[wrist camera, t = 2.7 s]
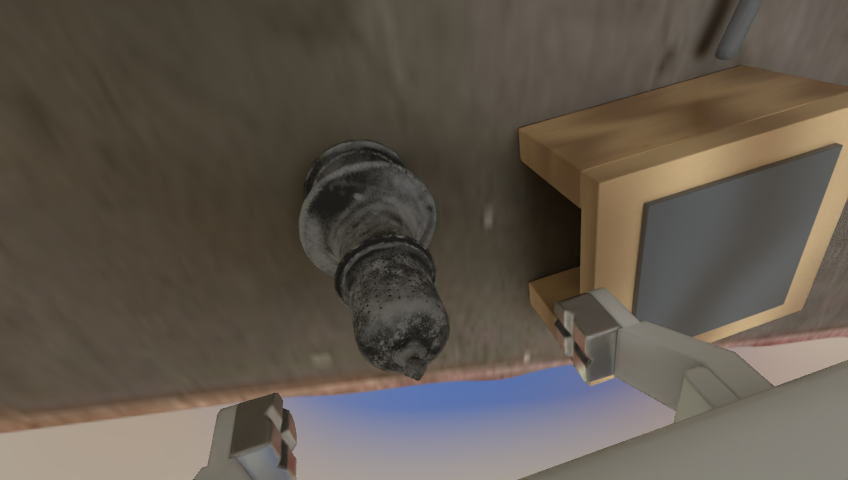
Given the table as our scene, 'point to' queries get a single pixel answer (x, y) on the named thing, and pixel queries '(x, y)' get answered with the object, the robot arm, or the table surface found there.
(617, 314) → the robot arm
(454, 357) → the table surface
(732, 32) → the walkie-talkie
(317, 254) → the chess piece
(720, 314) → the stand
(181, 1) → the table surface
